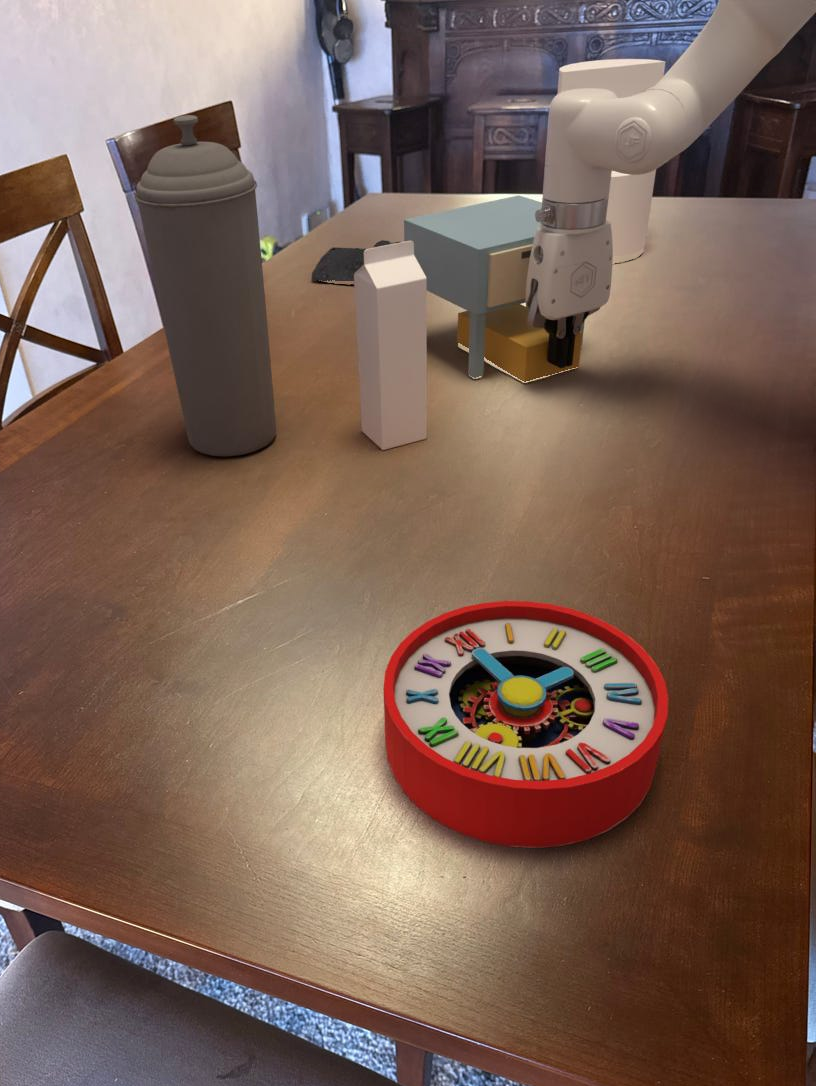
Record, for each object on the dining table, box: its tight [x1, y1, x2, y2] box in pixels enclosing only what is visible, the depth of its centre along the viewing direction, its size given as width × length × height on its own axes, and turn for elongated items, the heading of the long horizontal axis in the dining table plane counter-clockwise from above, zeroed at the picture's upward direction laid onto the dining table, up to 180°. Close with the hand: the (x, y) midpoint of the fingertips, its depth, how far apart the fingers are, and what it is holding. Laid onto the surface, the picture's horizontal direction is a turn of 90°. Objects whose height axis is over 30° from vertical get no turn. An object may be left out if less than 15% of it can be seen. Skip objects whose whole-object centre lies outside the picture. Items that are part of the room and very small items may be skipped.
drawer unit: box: [403, 195, 586, 378], centre depth 123 cm, size 19×19×17 cm
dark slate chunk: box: [311, 239, 402, 281], centre depth 157 cm, size 15×22×5 cm
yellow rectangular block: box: [456, 304, 584, 382], centre depth 123 cm, size 16×9×5 cm, turn 27°
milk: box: [354, 241, 428, 451], centre depth 102 cm, size 6×6×22 cm
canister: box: [134, 114, 277, 458], centre depth 100 cm, size 13×13×35 cm
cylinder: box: [556, 58, 666, 257], centre depth 151 cm, size 17×17×28 cm
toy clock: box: [382, 600, 669, 849], centre depth 66 cm, size 20×6×20 cm
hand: (559, 363), depth 116 cm, fingers closed
